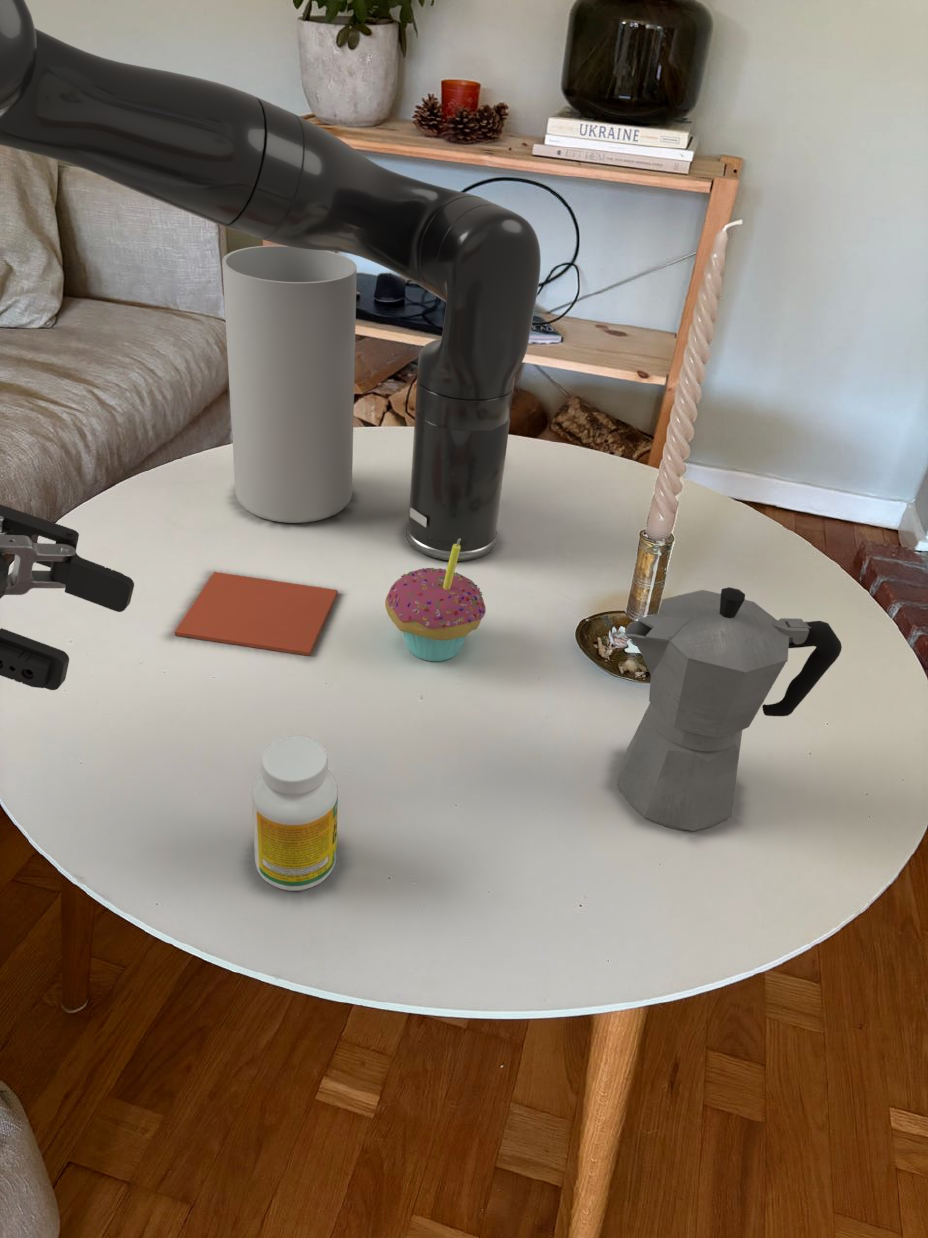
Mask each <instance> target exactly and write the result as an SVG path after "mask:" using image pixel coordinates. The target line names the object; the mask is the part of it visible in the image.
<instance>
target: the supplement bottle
mask: <svg viewBox="0 0 928 1238" xmlns="http://www.w3.org/2000/svg"><path fill="white" fill-rule="evenodd" d="M328 759H329V757H328V753H327V749H326V748H325V747H324V746H323V745H322V744H321V743H320V742H319V741H318V740H316V739H313V738H311V737H307V736H303V735H302V736H301V735H291V736H285V737H282V738H279V739H277V740H275V741H273V742H272V743H270V744H269V745H268V746H267V747H266V748H265V749H264V751H263V753H262V755H261V770H260V772H259V773H258V774H257V776H256V777H255V779H254V781H253V783H252V789H251V808H252V824H253V848H254V862H255V863H254V864H255V866H256V870H257V872H258V874H259V875H260V877H261V878H262V879H263V880H264V881H265V882H267V883H268V884H269V885H271V886H273V887H276V888H278V889H280V890H283V891H292V892H293V891H295V892H297V891H305V890H308V889H311V888H314V887H316V886H318V885H319V884H321V883H322V882H323V881H325V880H326V879H327V878H328V877H329V875H330V874H331V873H332V872H333V870H334V868H335V865H336V862H337V853H338V852H337V851H338V850H337V849H338V803H339V788H338V782H337V780H336V777H335V775H334V774H333V772H332V771H331V770H330V768H329V760H328Z"/></svg>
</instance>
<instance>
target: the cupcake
mask: <svg viewBox="0 0 928 1238" xmlns="http://www.w3.org/2000/svg"><path fill="white" fill-rule="evenodd" d="M460 540H461V539H458V541H457V544H454V545H453V547H452V551H451V555H450V559H449V560H448V564H447V567H446V568H440V567H439V568H434V567H425V568H418V569H416V570H412V571H409V572H408V573H403V574H402V575H400V578H398V579H397V580H396V581H394V582H393V584H392V585H391V587H390V588H389V591H388V593H387V595H386V597H385V599H384V600H385V602H384V606H385V610H386V613H387V615H388V617H389V618H390V620H391V621H392V623H393V624H394V625H395V626H396V628H397V629H398V630H399V631H400V632H401V633H402V634H403V637H404V640H405V644H406V647H407V649H408V651H409V652H410V653H411V654H412V655H413V656H414V657H416V658H419V659H420V660H425V661H429V662H443V661H447V660H450V659H452V658H454V657H455V656H457V654H458V653H459V652H460V651H461V649H462V646H463V644H464V642H465V640H466V638H467V637H468V635H469V634H470V633H471V632H472V631H475V630H476V629H478V628H479V626H480V624H481V621H482V620H483V618H484V617H485V616H486V611H487V609H486V604H485V602H484V597H483V592H482V591H481V588H480V587H478V584H475V582H474V581H473V580H472V579H470V578H469V577H467V576H465V575H463V574H461V573H459V572H455V571H456V567H457V564H458V561H457V560H458V556H459V552H460V545H459V543H460Z"/></svg>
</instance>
